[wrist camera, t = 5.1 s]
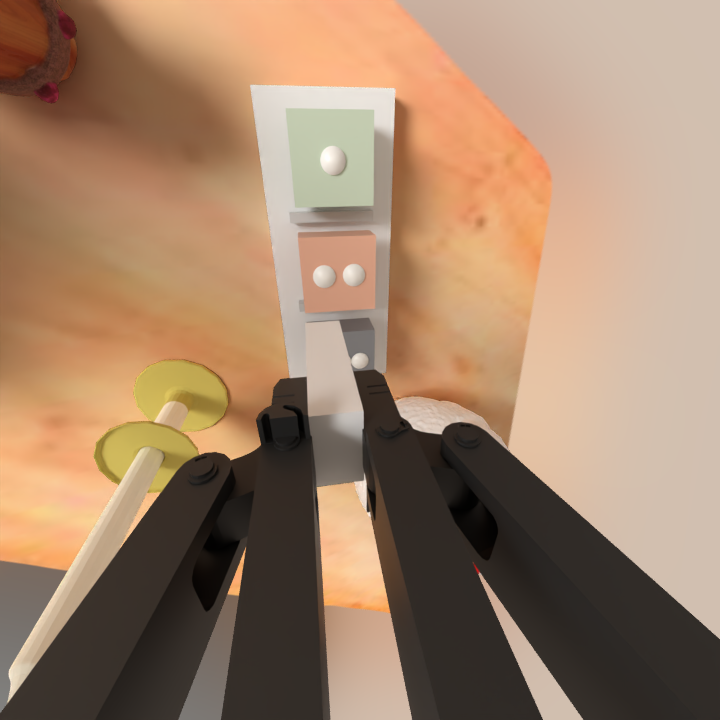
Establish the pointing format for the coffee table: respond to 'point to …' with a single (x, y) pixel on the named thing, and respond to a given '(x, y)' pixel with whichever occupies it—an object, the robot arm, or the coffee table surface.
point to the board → (320, 219)
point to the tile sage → (331, 156)
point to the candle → (131, 482)
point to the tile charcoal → (358, 342)
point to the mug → (35, 48)
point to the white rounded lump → (430, 423)
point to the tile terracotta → (338, 270)
